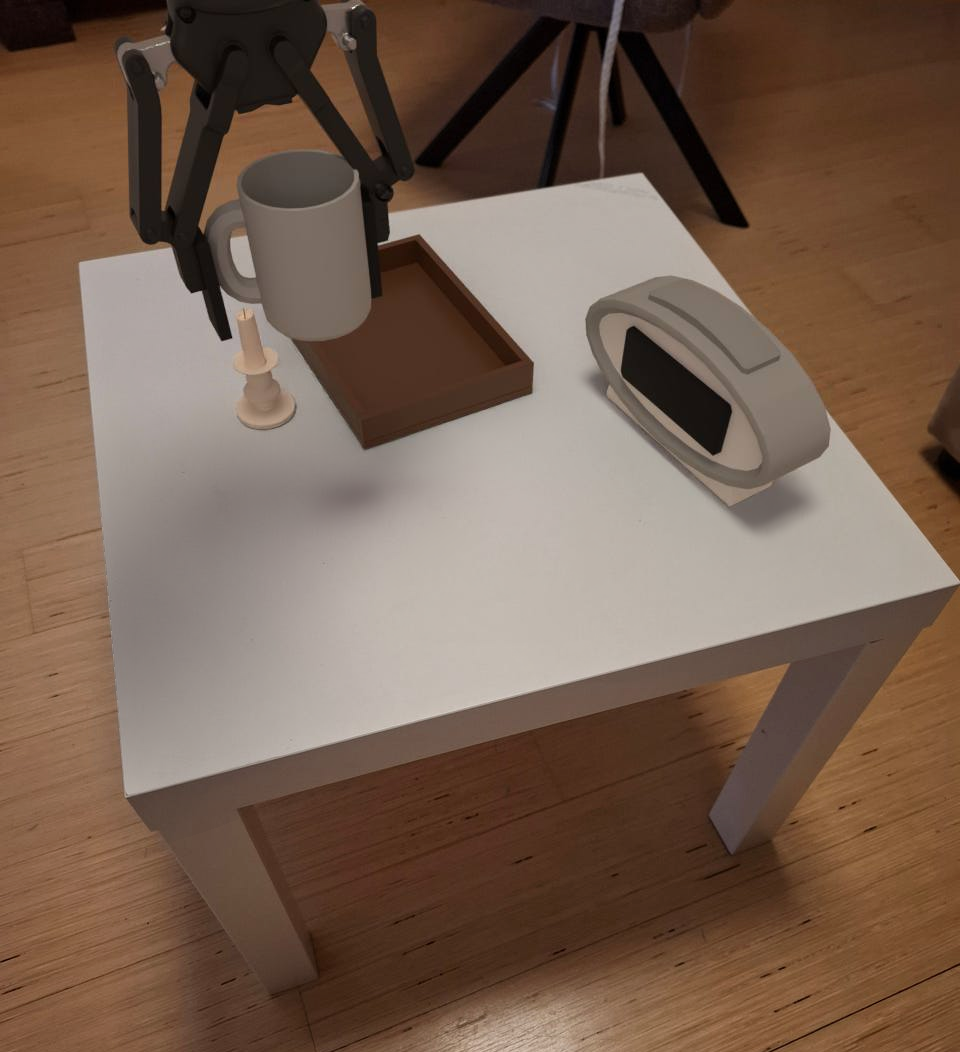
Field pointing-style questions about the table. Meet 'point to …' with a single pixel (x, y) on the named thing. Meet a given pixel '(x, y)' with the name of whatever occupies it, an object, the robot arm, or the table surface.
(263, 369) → the candle
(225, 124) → the robot arm
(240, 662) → the table surface
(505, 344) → the tray
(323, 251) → the cup
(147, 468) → the table surface
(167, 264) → the table surface
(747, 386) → the alarm clock
